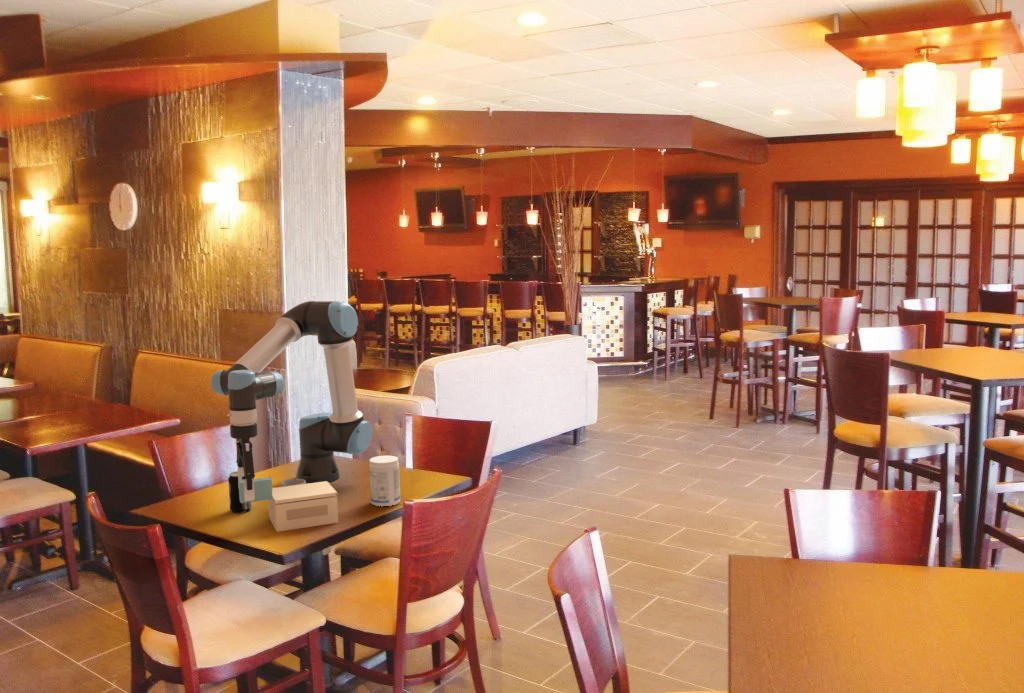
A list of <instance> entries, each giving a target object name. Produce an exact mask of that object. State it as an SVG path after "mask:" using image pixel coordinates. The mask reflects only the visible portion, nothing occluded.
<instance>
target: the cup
mask: <svg viewBox="0 0 1024 693" xmlns="http://www.w3.org/2000/svg"><path fill="white" fill-rule="evenodd" d="M300 484H307V483H306V481H305V480H304V479H296V478H290V479H285V480H282V481H281V482H280V487H285V486H293V485H300Z"/></svg>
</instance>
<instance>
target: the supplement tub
mask: <svg viewBox="0 0 1024 693" xmlns="http://www.w3.org/2000/svg"><path fill="white" fill-rule="evenodd" d="M368 461H369V463H368V464H369V466H368V472H369V489H370V493H369V494H370V503H371V505H373V506H374V505H375V507H378V506H379V508H384V507H383V506H389V507H393V506H396V505H398V504H399V503H400V502H401V482H400V481H401V480H400V479H401V478H400V477H401V476H400V462H399V457H398V456H395V455H378V456H373V457H371V458H369V460H368ZM392 505H393V506H392ZM380 506H381V507H380Z"/></svg>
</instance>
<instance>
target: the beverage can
mask: <svg viewBox="0 0 1024 693" xmlns="http://www.w3.org/2000/svg"><path fill="white" fill-rule="evenodd" d="M227 481H228V496H229V498H228V499H229V510H230V511H231V512H232V513H235V514H242V513H247V512H249V511H250V510H251V509H252V507H253V505H252V504H253V502H247V503H241V502H240V498H239V486H238V470H237V471H233V472H230V473H229V477H228V480H227Z"/></svg>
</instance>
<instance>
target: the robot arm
mask: <svg viewBox="0 0 1024 693" xmlns="http://www.w3.org/2000/svg"><path fill="white" fill-rule="evenodd" d="M358 319H359V317H358V315H357V312H356V310H355V309H354V307H353V306H351V304H349V303H348V302H343V301H336V300H334V301H331V300H330V301H328V300H327V301H326V300H325V301H324V300H322V301H313V300H308V301H304V302H301V303H299V304H297V305H296V306H293V307H292V308H290V309H289V310H288V311H286V312H284V313H283V314H282V315H281V316H280V317H279V318H278V319H277V320H276V321H275V326H274V327H272V328H271V329H270V330H269V331H268V332H267V333H266V334H265V335H264V336H263V337H262V338H260V339H259V340H258V342H256V343H255V344H254V345H253V346H252V347H250V349H248V351H246V352H245V353H244V354H243V355H242V356H241V357H240V358H239V359H238V360H236V362H234V363H233V364H232V366H230V367H229V368H228V369H226V370H225V369H222V370H221V369H220V370H217V371H215V372H214V373H213V374H212V376H211V379H210V386H211V388H212V391H213V392H214V393H215V394H218V395H223V396H228V403H229V404H228V405H229V407H228V408H229V413H227V417H229V423H230V425H229V431H230V432H229V433H230V438H232V439H235V440H236V460H235V461H236V462H235V463H236V464H237V465H236V466H237V471H238V486H239V481H241V480H244V497H245V501H251V500H255V494H254V479H256V475H255V466H254V457H253V443H252V442H251V440H250V439H251V438H255V437H257V436H258V424H257V421H258V416H257V415H258V414H257V401H259V400H263V399H268V398H274V397H275V396H278V395H280V394H281V393H282V392H283V390H284V389H285V379H284V378H283V376H282V375H281V373H280V372H278V371H275V370H274V371H266V372H262V371H263V370H265V369H266V367H268V366H269V364H271V362H273V361H274V360H275V359H276V358H277V357H278V356H279V355H280V354H281V353H282V352H283V351H284V350H285V349H287V347H288V346H289V345H290V344H291V343H296V342H298V341H299V340H300V339H302V338H303V337H306V336H316V337H317V342H318V345H319V346H321V347H322V348H323V351H324V359H325V360H324V361H325V367H326V375H327V379H328V380H327V382H328V389H329V396H330V401H331V409H332V413H331V412H321V413H314V414H309V415H305V416H303V417H301V418H300V419H299V421H298V422H299V424H298V426H299V428H298V432H299V435H298V436H299V452H300V459H299V463H298V466H297V470H296V474H295V476H296V477H295V479H304V480H305V481H306V483H305V484H308V483H316V482H324V481H327V482H328V483H330V482H333V481H336V480H338V479H339V478H340V469H339V466H338V464H337V462H336V458H335V454H334V453H343V454H348V455H352V454H353V455H354V454H355V455H358V454H362V453H364V452H365V451H366V450H367V449H368V447H369V445H370V443H371V440H372V436H373V427H372V424H371V423H370V422H369V421H368V420H364V414H363V412H362V411H361V410H359V409H358V402H357V393H356V387H355V378H354V373H353V372H354V371H353V364H352V357H351V348H350V344H351V342H352V341H353V340H354V336H355V334H356V333H357V331H358V328H357V327H358V326H359V320H358Z"/></svg>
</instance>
